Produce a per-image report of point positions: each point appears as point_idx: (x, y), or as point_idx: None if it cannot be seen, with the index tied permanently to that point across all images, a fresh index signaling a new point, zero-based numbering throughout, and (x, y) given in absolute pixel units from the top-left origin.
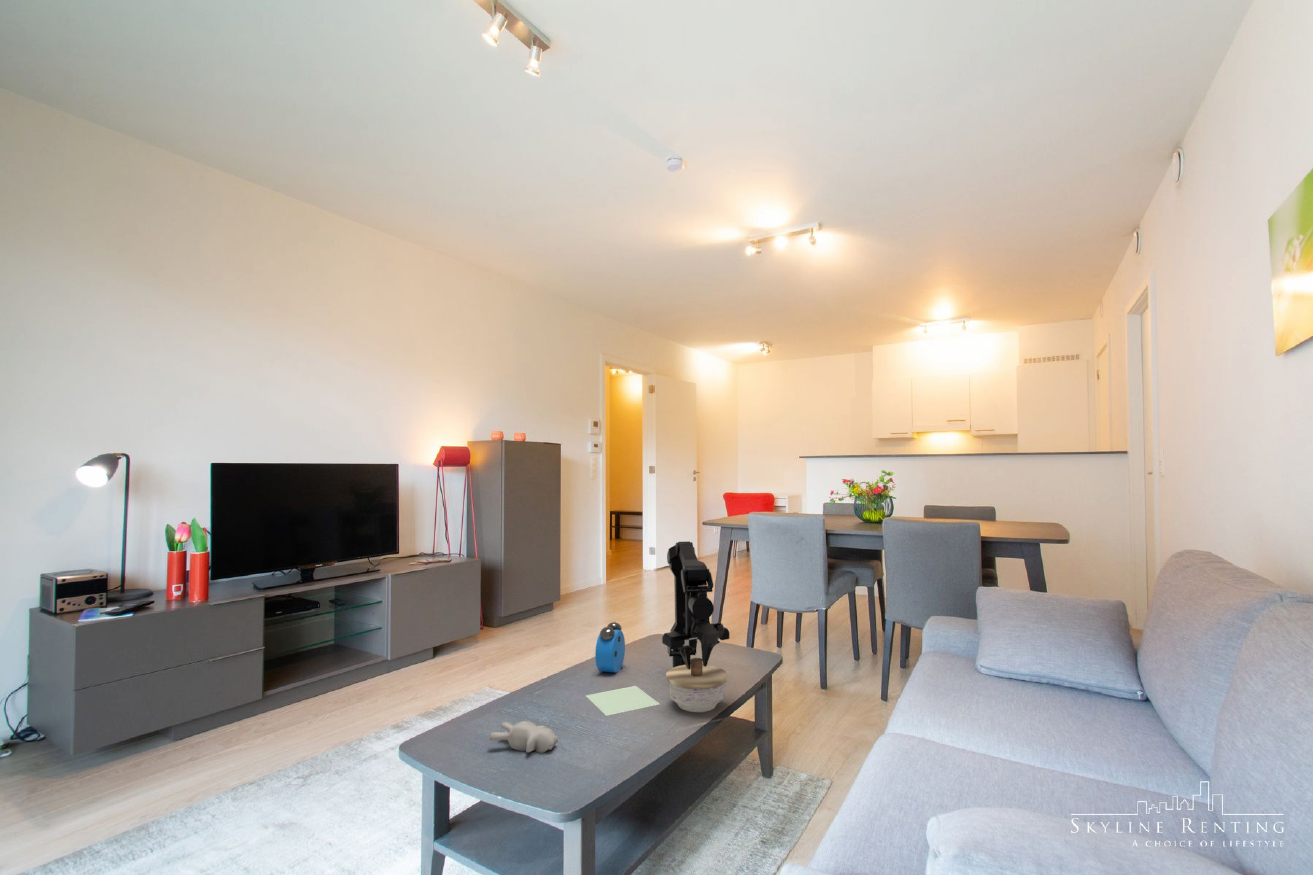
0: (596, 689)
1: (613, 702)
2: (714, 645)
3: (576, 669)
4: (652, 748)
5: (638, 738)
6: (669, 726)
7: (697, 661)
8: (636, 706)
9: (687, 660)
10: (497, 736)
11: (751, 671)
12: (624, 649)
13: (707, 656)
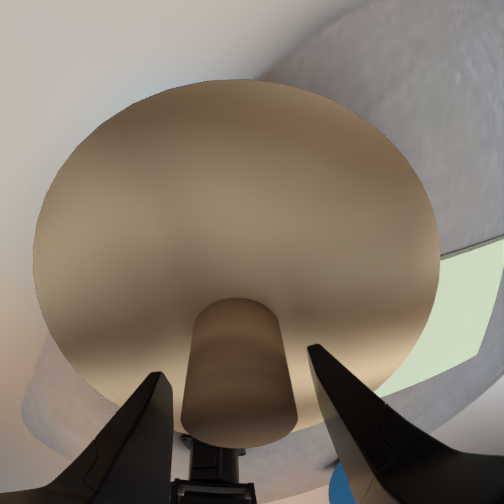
0: (436, 387)
1: (464, 314)
2: (24, 493)
3: None
4: (462, 4)
5: (486, 73)
6: (402, 95)
7: (247, 390)
8: (439, 278)
9: (370, 392)
10: None
11: (47, 404)
12: (330, 494)
13: (122, 430)
